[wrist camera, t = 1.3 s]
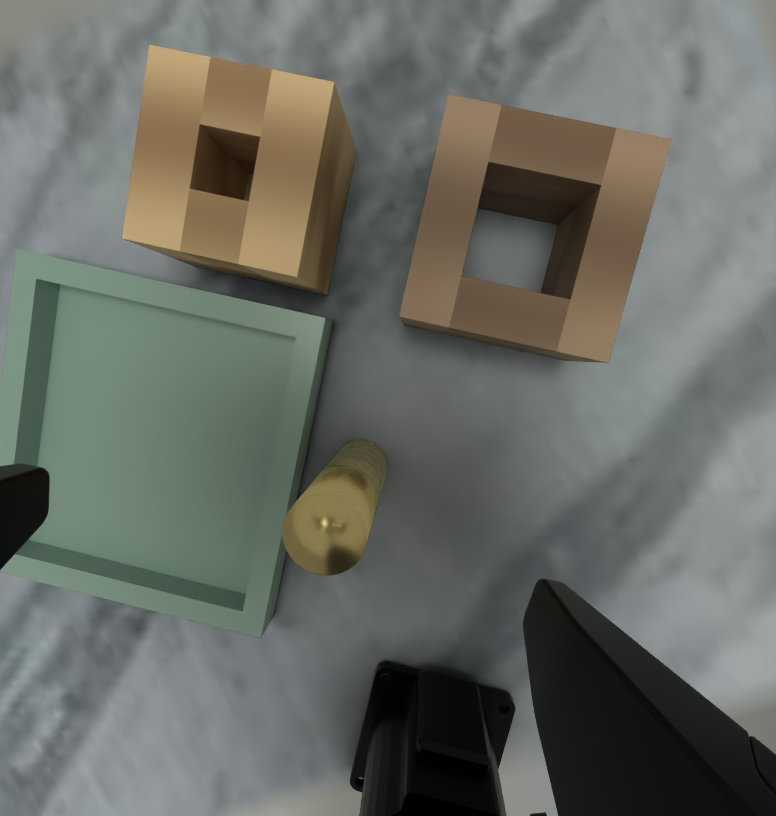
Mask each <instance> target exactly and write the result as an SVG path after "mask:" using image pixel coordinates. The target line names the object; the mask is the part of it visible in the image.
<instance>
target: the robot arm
mask: <svg viewBox="0 0 776 816" xmlns="http://www.w3.org/2000/svg"><path fill="white" fill-rule="evenodd" d="M49 490H50V475H49V472H48V471H47V470H46V469H45V468H42V467H38V466H34V465H29V464H24V463H19V464H12V465H5V466H0V570H1V569H2V568H3V567H4V566H5V565H6V563H7V562H8V561H9V560H10V559H11V558H12V557H13V556H14V555H15V554H16V553H17V551H18V550H19V549H20V548H21V547H22V546H23V545H24V544H25V543H26V542H27V541H28V539H29V538H30V537H31V536H32V535H33V534H34V533H35V532H36V531H37V530H38V528H39V527H40V526H41V525H42V524H43V523H44V521H45V519H46V517H47V515H48V511H49ZM523 631H524V638H525V646H526V654H527V662H528V670H529V677H530V685H531V693H532V700H533V707H534V713H535V718H536V722H537V727H538V731H539V736H540V740H541V744H542V748H543V753H544V757H545V761H546V765H547V770H548V774H549V778H550V782H551V787H552V791H553V795H554V799H555V803H556V808H557V812H558V816H776V754H774V753H773V752H772V751H771V750H770V749H768V748H767V747H766V746H765V745H763V744H762V743H761V742H760V741H759V740H757V739H756V738H755V737H753V736H750V737H749V735H748V732H747V731H746V730H745V729H743V728H742V727H741V726H740V725H739V724H737V723H736V722H735V721H734V720H732V719H731V718H730V717H729V716H727V715H726V714H725V713H724V712H722V711H721V710H720V709H719V708H717V707H716V706H715V705H714V704H712V703H711V702H710V701H709V700H708V699H706V698H705V697H704V696H703V695H701V694H700V693H699V692H698V691H696V690H695V689H694V688H693V687H691V686H690V685H689V684H688V683H686V682H685V681H684V680H683V679H681V678H680V677H679V676H678V675H677V674H675V673H674V672H673V671H672V670H670V669H669V668H668V667H667V666H665V665H664V664H663V663H662V662H660V661H659V660H658V659H657V658H655V657H654V656H653V655H652V654H651V653H649V652H648V651H647V650H646V649H644V648H643V647H642V646H641V645H639V644H638V643H637V642H636V641H634V640H633V639H632V638H631V637H629V636H628V635H627V634H626V633H624V632H623V631H622V630H621V629H620V628H618V627H617V626H616V625H615V624H613V623H612V622H611V621H610V620H608V619H607V618H606V617H605V616H603V615H602V614H601V613H600V612H598V611H597V610H596V609H595V608H593V607H592V606H591V605H590V604H589V603H587V602H586V601H585V600H584V599H582V598H581V597H580V596H579V595H577V594H576V593H575V592H574V591H572V590H571V589H570V588H569V587H567V586H566V585H565V584H564V583H561V582H558V581H554V580H549V579H544V578H542V579H540V580H538V582H537V583H536V585H535V587H534V590H533V593H532V596H531V598H530V601H529V604H528V607H527V609H526V612H525V615H524V620H523ZM383 673H388V674H390V676H389V677H384V676H382V674H383ZM502 703H506V704H507V705H506V706H505V707H501V706H499V705H500V704H502ZM514 712H515V705H514V701H513V698H512V696H511V695H510V694H508V693H506V692H503V691H499V690H495V689H491V688H487V687H483V686H479V685H476V684H475V683H472V682H468V681H464V680H460V679H456V678H452V677H448V676H444V675H440V674H436V673H432V672H428V671H420V670H416V669H412V668H408V667H404V666H401V665H397V664H393V663H389V662H384V663H380V664H379V665H378V666H377V668H376V671H375V675H374V679H373V684H372V688H371V692H370V696H369V700H368V704H367V709H366V713H365V717H364V721H363V725H362V730H361V734H360V738H359V742H358V746H357V751H356V755H355V759H354V763H353V767H352V771H351V777H350V784H351V786H352V787H353V788H354V789H355V790H357V791H360V792H362V800H361V808H360V815H359V816H506V811H505V806H504V800H503V795H502V789H501V784H500V778H499V773H498V768H499V765H500V761H501V758H502V754H503V751H504V747H505V744H506V740H507V737H508V733H509V730H510V726H511V723H512V719H513V716H514ZM358 777H362V778H364V779H359V778H358ZM530 816H547V815H546V813H545V812H544V813H535V814H530Z"/></svg>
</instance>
